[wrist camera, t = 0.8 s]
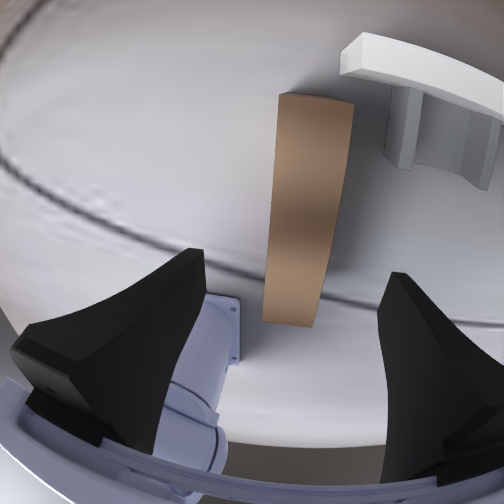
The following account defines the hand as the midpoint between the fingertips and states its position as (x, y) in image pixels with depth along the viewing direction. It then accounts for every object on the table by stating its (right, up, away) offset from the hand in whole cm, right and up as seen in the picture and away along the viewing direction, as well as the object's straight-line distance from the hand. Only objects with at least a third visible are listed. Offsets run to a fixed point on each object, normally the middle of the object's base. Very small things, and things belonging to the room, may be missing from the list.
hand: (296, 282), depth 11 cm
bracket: (+10, +9, +4) cm, 14 cm away
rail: (+2, +5, +8) cm, 10 cm away
